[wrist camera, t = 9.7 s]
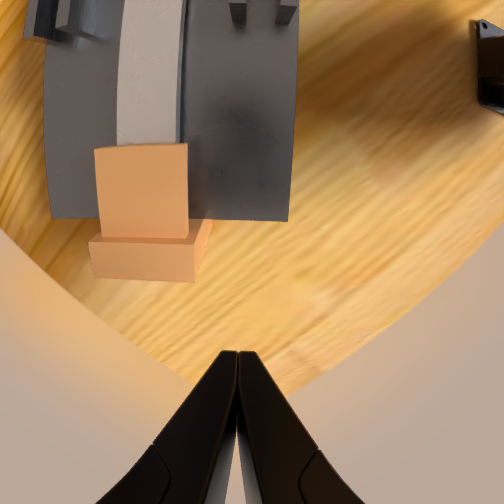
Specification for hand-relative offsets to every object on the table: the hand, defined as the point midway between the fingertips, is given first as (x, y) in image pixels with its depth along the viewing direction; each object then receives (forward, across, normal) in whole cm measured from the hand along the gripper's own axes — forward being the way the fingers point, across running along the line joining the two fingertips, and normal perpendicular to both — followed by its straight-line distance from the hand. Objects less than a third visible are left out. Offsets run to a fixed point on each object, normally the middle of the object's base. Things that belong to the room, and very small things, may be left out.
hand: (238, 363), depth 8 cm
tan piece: (+12, +4, -2) cm, 13 cm away
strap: (+8, +4, -10) cm, 13 cm away
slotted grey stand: (+12, +4, -10) cm, 16 cm away
